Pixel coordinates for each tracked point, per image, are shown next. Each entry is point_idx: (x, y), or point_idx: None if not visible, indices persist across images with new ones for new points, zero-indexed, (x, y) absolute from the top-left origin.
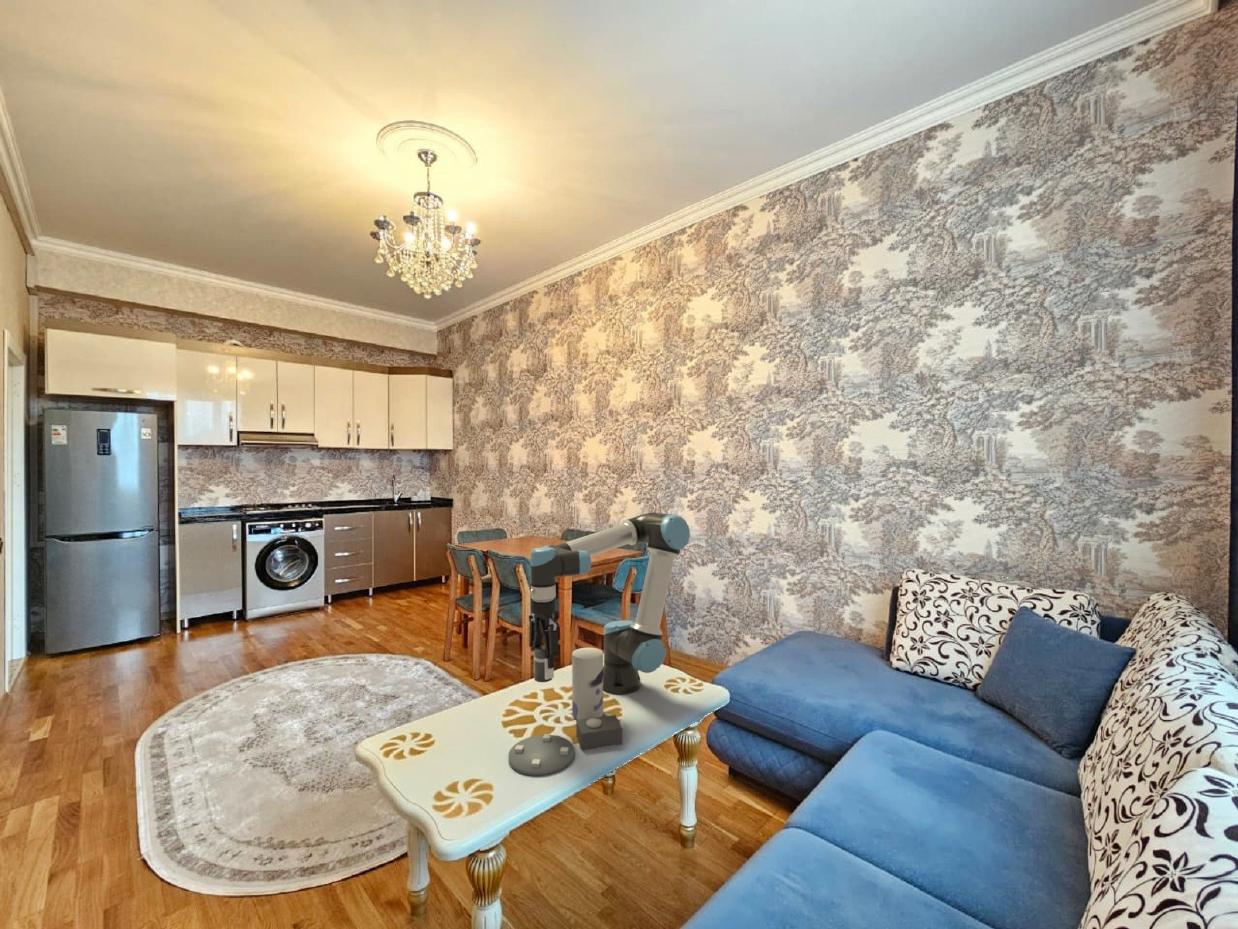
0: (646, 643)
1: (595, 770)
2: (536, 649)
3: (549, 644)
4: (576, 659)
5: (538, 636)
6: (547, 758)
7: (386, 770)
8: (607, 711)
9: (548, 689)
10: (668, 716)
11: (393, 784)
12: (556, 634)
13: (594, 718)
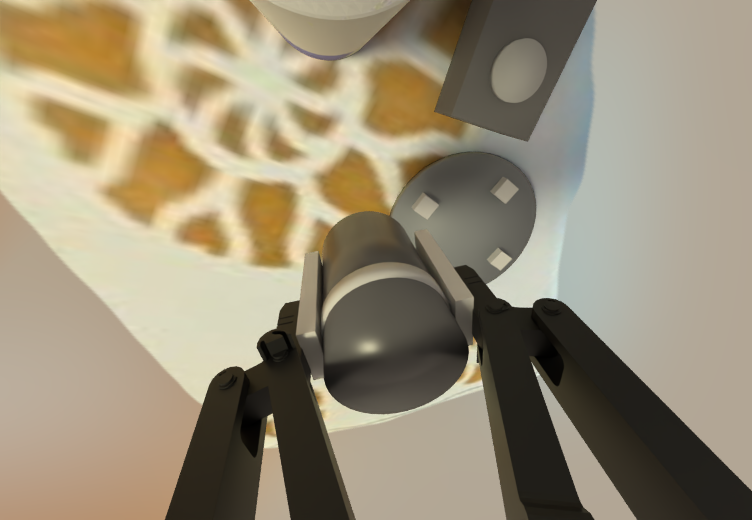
0: None
1: (586, 143)
2: (377, 404)
3: (584, 433)
4: (378, 16)
5: (344, 490)
6: (494, 230)
7: (346, 426)
8: None
9: (4, 31)
10: None
11: (387, 418)
12: (745, 507)
13: (503, 54)
